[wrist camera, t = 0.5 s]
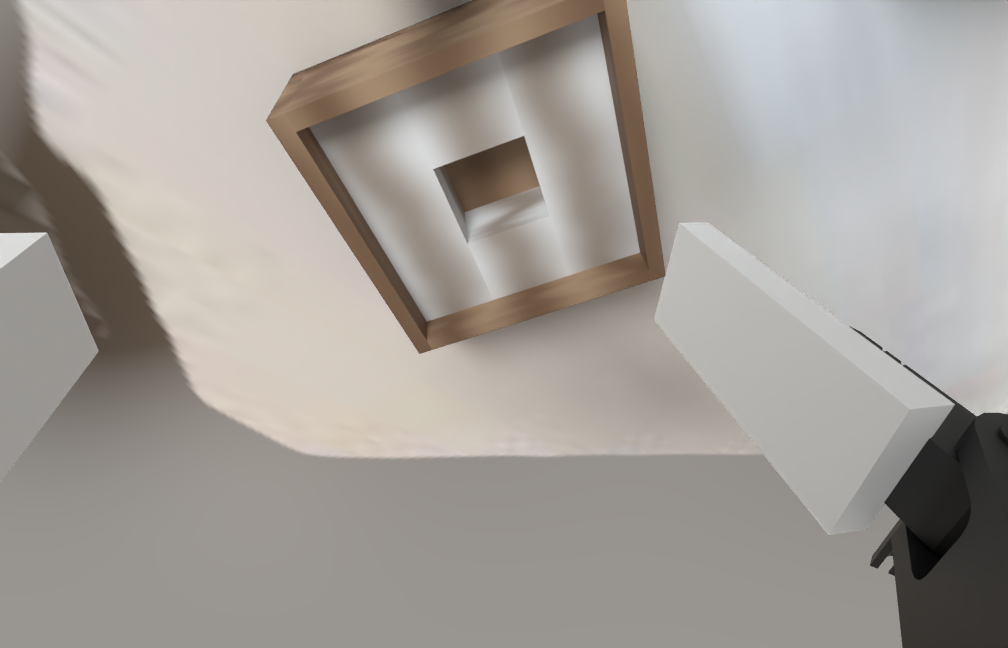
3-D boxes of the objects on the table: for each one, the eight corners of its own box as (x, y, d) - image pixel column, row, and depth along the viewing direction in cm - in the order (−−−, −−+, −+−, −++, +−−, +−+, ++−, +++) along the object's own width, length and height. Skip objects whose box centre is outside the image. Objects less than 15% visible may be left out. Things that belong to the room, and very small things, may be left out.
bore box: (587, -47, 28) (622, -23, 23) (635, 221, 40) (665, 276, 35) (292, 74, 31) (266, 120, 26) (420, 292, 43) (419, 353, 38)
